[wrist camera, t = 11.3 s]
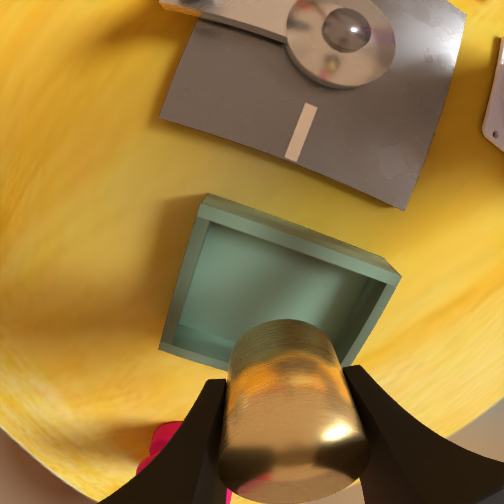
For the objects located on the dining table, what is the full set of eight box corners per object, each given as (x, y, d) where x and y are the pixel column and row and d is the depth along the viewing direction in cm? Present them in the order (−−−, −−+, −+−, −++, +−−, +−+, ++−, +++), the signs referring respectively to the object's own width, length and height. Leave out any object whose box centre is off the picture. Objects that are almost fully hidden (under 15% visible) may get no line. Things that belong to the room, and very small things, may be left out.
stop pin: (331, 309, 11) (375, 406, 6) (337, 393, 12) (366, 489, 7) (218, 328, 11) (198, 433, 6) (240, 408, 12) (235, 509, 8)
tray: (383, 258, 17) (401, 276, 15) (322, 368, 20) (329, 395, 17) (208, 193, 16) (201, 203, 14) (168, 323, 19) (158, 349, 16)
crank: (397, 26, 12) (437, 0, 8) (367, 106, 13) (406, 97, 9) (196, -46, 11) (181, -90, 7) (154, 30, 12) (123, -1, 8)
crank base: (457, 18, 12) (467, 14, 11) (396, 207, 16) (404, 212, 15) (253, -73, 11) (253, -83, 10) (164, 119, 15) (158, 118, 14)
